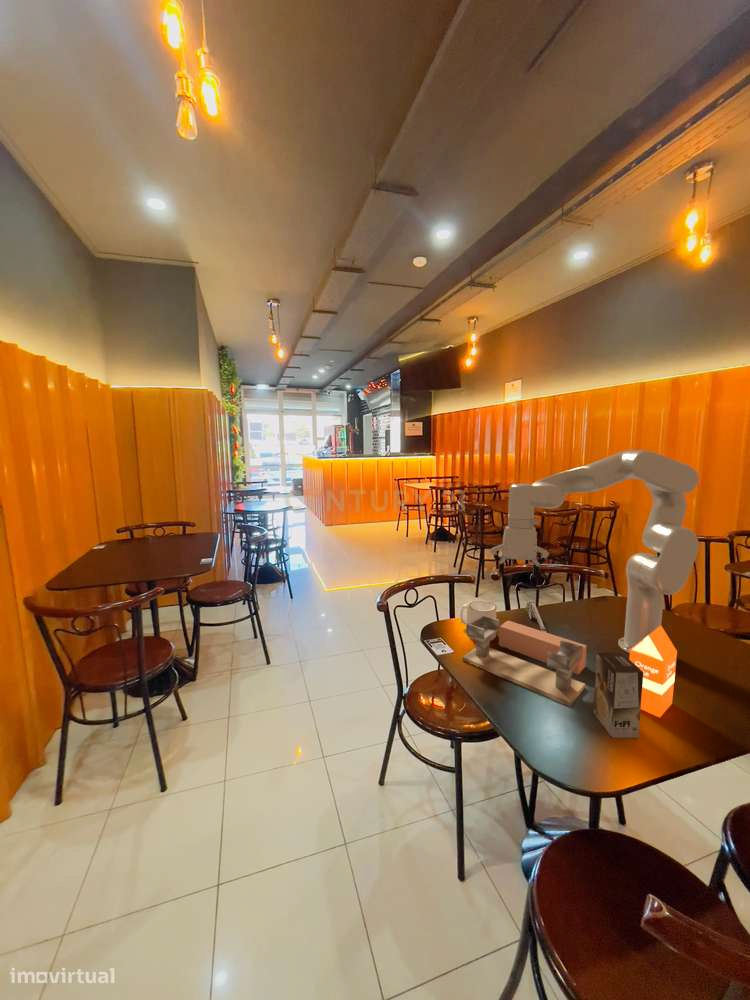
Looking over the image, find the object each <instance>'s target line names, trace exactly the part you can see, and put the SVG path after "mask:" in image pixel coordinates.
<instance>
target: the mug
mask: <svg viewBox="0 0 750 1000" xmlns="http://www.w3.org/2000/svg"><path fill="white" fill-rule="evenodd" d="M497 608H498V607H497V605H496V604H495V603H494V602H491V601H487V600H482V599H479V600H478V599H475V600H470V601H468V602H467V603H465V604H463V605H462V606H461V608H460V610H459V611H460V613H459V614H460V615H459V616H460V617H459V618H460V620H461V624H464V625H465V628H466V627H467V624H468V623H469V622H471V621H473V620H474V619H476V618H478V617H479V616H481V615H486V616H489V617H492V618H495V619H497ZM465 613H466V615H465ZM465 634H467V633H466V632H465ZM496 634H497V633H495V634H494V635H492V636H491V637H490V640H491V641H493V640H495V639H496V636H497V635H496ZM494 638H495V639H494ZM469 639H471V637H470V638H469ZM473 639H474V638H472V639H471V640H473ZM474 641H476V639H475V640H474Z"/></svg>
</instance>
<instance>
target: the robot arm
mask: <svg viewBox="0 0 750 1000" xmlns="http://www.w3.org/2000/svg"><path fill="white" fill-rule="evenodd" d="M631 479H634V480H640V481H642V482H643V484H644V485H645V486H646V488H647V489H648V491H649V492H650V494H651V496H652V497H651V498H652V505H651V509H650V513H649V514H648V515H649V516H648V518H647V521H646V524H645V527H644V530H643V532H642V537H641V541H642V543H643V545H644V546H645V547H646V548H648V549H649V550H651V551H653V552H656V553H659V556H657V555H654V554H652V553H648V552H638V553H636V554H635V553H634V554H632V555H631V556H630V557H629V559H628V560H627V562H626V565H625V573H626V580H627V597H626V598H627V599H626V608H625V621H624V624H625V625H624V635H623V636H622V637H620V638H619V639H618V643H617V644H618V647H620V649H621V650H622V651H623V652H626V653H628V654H630V650H631V649H632V648H633V647H634V646H636V645H637V644H638V643H640V641H642V640H643V639H644V638H646V637H647V636H648V635H649V634H651V633H652V632H653V631H654V630H656V629H657V628H658V627H660V626H662V619H663V608H664V595H667V596H668V595H671V596H672V595H674V594H677V593H679V592H680V591H681V590H682V589H683V588H684V587H685V585H686V582H687V581H688V579H689V576H690V573H691V571H692V568H693V566H694V563H695V560H696V558H697V555H698V552H699V549H700V548H699V539H698V536H697V535H696V534H695V533H694V531H692V530H690V529H689V528H687V527H684V526H682V525H683V522H684V518H685V516H686V512H687V499H686V496H685V495H686V494H690V493H691V492H692V491H695V489H696V488H697V486H698V484H699V475H698V473H697V471H696V469H695V468H693V467H692V466H690V465H689V464H685V463H682V462H681V461H678V460H675V459H672V458H670V457H667V456H665V455H662V454H659V453H657V452H654V451H649V450H641V449H639V450H638V449H634V450H633V449H628V450H622V451H620V452H617V453H615V454H613V455H612V454H611V455H609V456H607V457H604V458H602V459H599V460H597V461H594V462H592V463H589V464H586V465H583V466H579V467H575V468H572V469H569V470H568V469H567V470H565V471H561V472H558V473H555V474H552V475H549V476H547V477H544V478H542V479H539V480H536V481H534V482H533V483H532V484H530V483H513V484H511V485H510V486H509V490H508V491H509V492H508V511H507V512H508V515H507V525H506V526H504V530H503V535H502V543H501V544H498V545H495V546H494V547H492V548H490V552H491V554H492V556H493V558H494V559H495V560H496V561H497V562H498V563H499V565H498V572H499V574H500V575H501V577H505V561H507V559H508V560H519V561H521V560H522V561H532V562H533V564H532V578H533V579H535V580H536V579H537V576H539V571H540V570H539V569H540V566H541V565H542V564H544V562H545V561H546V560H547V559H548V557H549V555H550V552H549V551H548V550H545V549H544V548H542V547H540V546H538V545H537V544H538V543H537V542H538V539H537V530H536V527H535V526H537V525H539V522H540V521H539V520H538V519H537V520H536V519H535V518H534V517H535V508H539V509H547V510H551V509H552V510H553V509H557V508H559V507H560V506H562V505H563V503H564V502H565V498H566V497H565V495H569V494H570V495H571V494H575V493H581V494H582V493H592V492H598V491H602V490H603V489H606V488H609V487H612V486H614V485H617V484H619V483H622V482H625V481H627V480H631ZM500 550H501V552H502V555H501V556H500V555H498V553H497V552H498V551H500ZM538 553H540V554H542V555H541V556H540V557H539V558H537V557H538ZM675 649H676V650H677V648H675ZM677 651H678V650H677Z"/></svg>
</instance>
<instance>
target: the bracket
mask: <svg viewBox="0 0 750 1000" xmlns="http://www.w3.org/2000/svg"><path fill="white" fill-rule="evenodd" d="M536 604H537V602H536V601H527V602H526V605H525V610H526V611H527V614H528V618H529V617H530V618H529V620H530V619H531V620H532V617H533V619H534V618H535V619H536V620H537V623H538V625H539V627H540V631H543V632H546V633H548V631H547V629H546V627H545V625H544V623H543V620H542V618H541V616H540V614H539V611H538V608H537V605H536ZM527 608H529V609H527ZM532 615H533V616H532Z"/></svg>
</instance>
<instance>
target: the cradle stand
mask: <svg viewBox="0 0 750 1000" xmlns="http://www.w3.org/2000/svg"><path fill="white" fill-rule="evenodd" d="M499 626H500V619H497V618H496V619H495V618H492V617H489V616H486V615H481V616H479V617H478V618H476V619H474V620H473V621H471V622H469V623H468V624H467V627H466V626H465V634H466V633H467V635H466V637H468V638H469V637H471V638H474V639H476V640H475V648H473V649H471V651H469V652H468V653H466V654H465V655H463V656H462V661H463V662H465V661H466V662H465V663H467V662H468V664H469V665H472V664H473V665H472V666H474V665H475V667H477V668H479V667H480V668H479V669H481V668H482V670H484V671H486V672H489V673H491V674H493V675H494V676H498V677H500V678H503V679H504V680H508V682H509V681H510V682H512V683H514V684H517V685H518V686H521V687H523V688H525V689H528V690H530V691H533V692H535V693H537V694H540V695H542V696H545V697H547V698H549V699H552V700H554V701H557V702H558V703H561V704H563V705H566V706H568V707H571V706H572V705H573V703H574V702H575V701H576V699H577V698H579V696H580V695H581V694H582V692H583V691H584V689H585V687H586V683H584V682H581V681H579V680H577V679H573V678H572V677H573V673H572V670H573V669H574V667H575V666H576V665H577V664H578V663H579V662H580V661H581V660H582V657H583V647H582V646H579V645H576V644H573V643H570V642H567V641H564V640H561V641H560V651H559V652H558V653H557V654H555V653H552V652H548V654H547V663H546V666H547V667H548V668H551V669H554V670H555V671H554V670H553V671H552V670H550V669H548V668H544V667H542V666H539V665H537V664H534V663H532V662H530V661H529V662H528V661H526V660H523V659H521V658H518V657H516V656H513V655H510V654H508V653H505V652H502V651H500V650H497V649H495V648H492V647H490V645H491V644H490V642H491V641H490V637H491V636H492V635H494V634H495V633H496V634H497V633H499ZM471 638H470V639H471Z"/></svg>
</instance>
